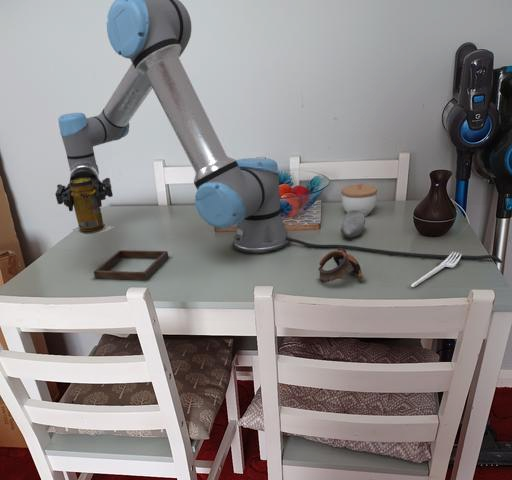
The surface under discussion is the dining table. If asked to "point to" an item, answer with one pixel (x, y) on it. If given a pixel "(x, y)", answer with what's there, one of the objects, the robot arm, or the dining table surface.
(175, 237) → the dining table surface
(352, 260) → the brown curved ring piece
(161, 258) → the caddy
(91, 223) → the condiment
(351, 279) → the dining table surface
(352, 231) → the grey oval rock
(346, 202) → the trinket box
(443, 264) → the fork
